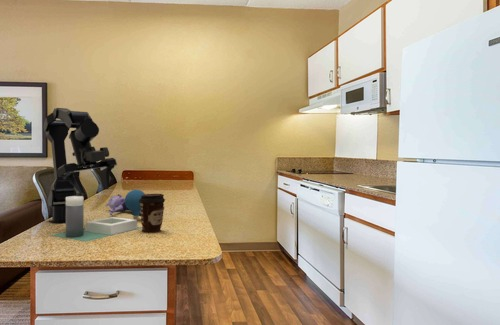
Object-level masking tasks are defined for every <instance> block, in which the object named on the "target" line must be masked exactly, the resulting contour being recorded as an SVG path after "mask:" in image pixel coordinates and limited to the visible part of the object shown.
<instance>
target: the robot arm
mask: <svg viewBox="0 0 500 325" xmlns="http://www.w3.org/2000/svg"><path fill="white" fill-rule="evenodd" d="M43 122H44V123H43V131H44V133H45V138H46V139H47V140H48V142H49V143H50V144H51V153H52V164H53V165H52V166H53V174H54V181H53V182H52V184H51V186H50V191H49V194H48V197H47V201H46V202H47V206H49V207H50V208H52V213H51V217H52V219H49V220H48V222H49V223H56V224H62V223H66V197H68V196H78V193H79V194H80V196H83V195H84V188H83V185H82V181H81V179H80V171H88V170H95V169H98V170H99V171H98V174H99V176H100V179H101V182H102V184H103V186H104V188H105V189H106V190H109V188H110V177H111V176H110V175H111V172H112V170H113V169H114V168H115V167H116V166H117V165H118V163H117V160H116V159H115V158H114V157H110V151H109V148H108V147H106V146H105V147H100V148H99V149H98V150H96V147H95V146H92V143H91V141H93V140H94V138H96V137H97V136H98V135H99V132H100V128H99V126H98V124H97V123H95V122H94V121H93V118H92V117H91V115H90V114H89V112H88V111H78V110H77V111H76V110H75V111H74V110H71V109H69V108H65V107H64V108H63V107H55V108H53V111H52V112H51V113H50V114H48V115H46V116H45V120H44V121H43ZM70 129H74V130H71V131H70ZM69 131H70V133H69ZM67 137H68V139H69V140H70V142H71V146H72V149H73V152H71V153H72V157H75V161H76V162H71V163H70V162H69V163H68V162H67V153H66V143H65V141H66V139H67ZM109 157H110V158H109ZM76 190H77V191H76Z"/></svg>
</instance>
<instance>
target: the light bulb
mask: <svg viewBox="0 0 500 325" xmlns="http://www.w3.org/2000/svg"><path fill="white" fill-rule="evenodd" d="M144 194H146V193H145V192H144V191H142V190H141V189H132V190H130V191H129V192H128V193H127V194H126V195H125V197H124V198H125V205H126V207H127V208H128V209H129V210H131V211H132V213H131V214H132V216H133V220H137V221H138V220H139V216H140V214H139V213H140V211H141V206H140V203H139V199H141V196H142V195H144ZM131 211H130V212H131Z"/></svg>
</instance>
